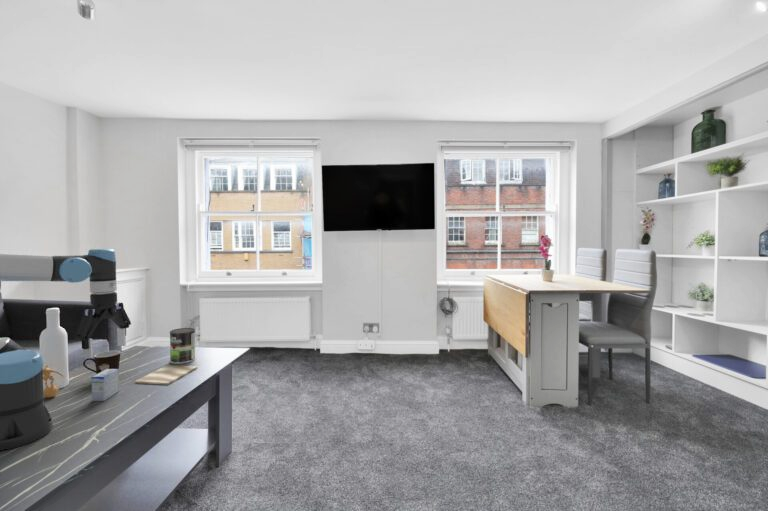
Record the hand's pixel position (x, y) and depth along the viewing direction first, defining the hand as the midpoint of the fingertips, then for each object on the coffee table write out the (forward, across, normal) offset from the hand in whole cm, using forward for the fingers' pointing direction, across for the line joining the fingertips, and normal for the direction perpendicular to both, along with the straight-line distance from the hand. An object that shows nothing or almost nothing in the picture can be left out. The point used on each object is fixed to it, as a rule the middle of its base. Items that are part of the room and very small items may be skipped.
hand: (105, 351), depth 128 cm
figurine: (+16, -4, +18) cm, 25 cm away
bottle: (+16, +5, +26) cm, 31 cm away
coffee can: (+17, +39, -2) cm, 42 cm away
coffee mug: (+16, +15, +15) cm, 27 cm away
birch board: (+16, +21, -8) cm, 27 cm away
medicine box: (+16, 0, 0) cm, 16 cm away
